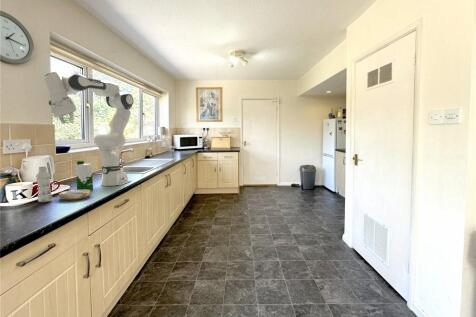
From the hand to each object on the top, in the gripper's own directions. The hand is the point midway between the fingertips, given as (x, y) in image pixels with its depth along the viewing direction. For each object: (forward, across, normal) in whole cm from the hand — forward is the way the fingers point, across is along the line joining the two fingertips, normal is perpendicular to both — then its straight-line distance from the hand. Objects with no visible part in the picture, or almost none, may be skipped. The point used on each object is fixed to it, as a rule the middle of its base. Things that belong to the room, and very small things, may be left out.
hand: (68, 121), depth 157 cm
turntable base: (+46, -4, +13) cm, 47 cm away
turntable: (+44, -4, +13) cm, 46 cm away
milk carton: (+46, +12, -2) cm, 47 cm away
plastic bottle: (+42, +1, +26) cm, 50 cm away
